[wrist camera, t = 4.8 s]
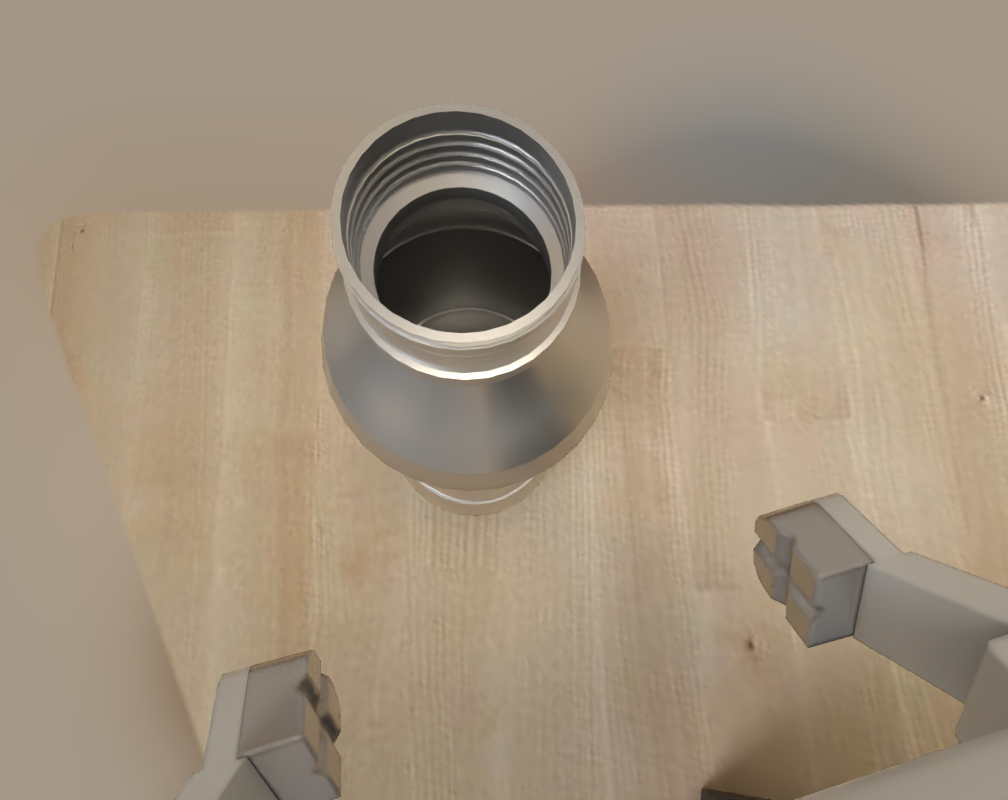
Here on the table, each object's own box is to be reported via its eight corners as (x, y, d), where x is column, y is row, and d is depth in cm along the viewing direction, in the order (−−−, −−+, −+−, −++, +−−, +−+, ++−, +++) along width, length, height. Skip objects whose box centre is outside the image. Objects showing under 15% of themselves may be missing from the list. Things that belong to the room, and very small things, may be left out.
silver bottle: (510, 346, 30) (566, -43, 10) (572, 483, 28) (776, 344, 9) (377, 400, 29) (156, 94, 9) (435, 544, 27) (321, 539, 8)
